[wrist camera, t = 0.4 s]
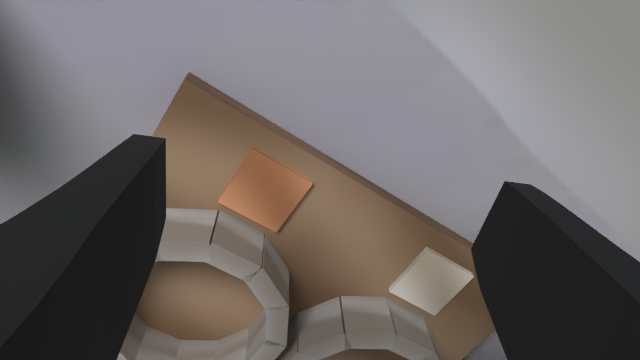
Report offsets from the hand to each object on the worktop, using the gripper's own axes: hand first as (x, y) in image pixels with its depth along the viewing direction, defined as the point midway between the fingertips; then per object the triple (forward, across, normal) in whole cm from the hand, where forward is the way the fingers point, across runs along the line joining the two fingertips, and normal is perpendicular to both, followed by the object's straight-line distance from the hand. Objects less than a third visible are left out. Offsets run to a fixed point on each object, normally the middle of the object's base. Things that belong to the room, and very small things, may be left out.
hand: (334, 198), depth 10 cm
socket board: (+9, -1, +13) cm, 16 cm away
